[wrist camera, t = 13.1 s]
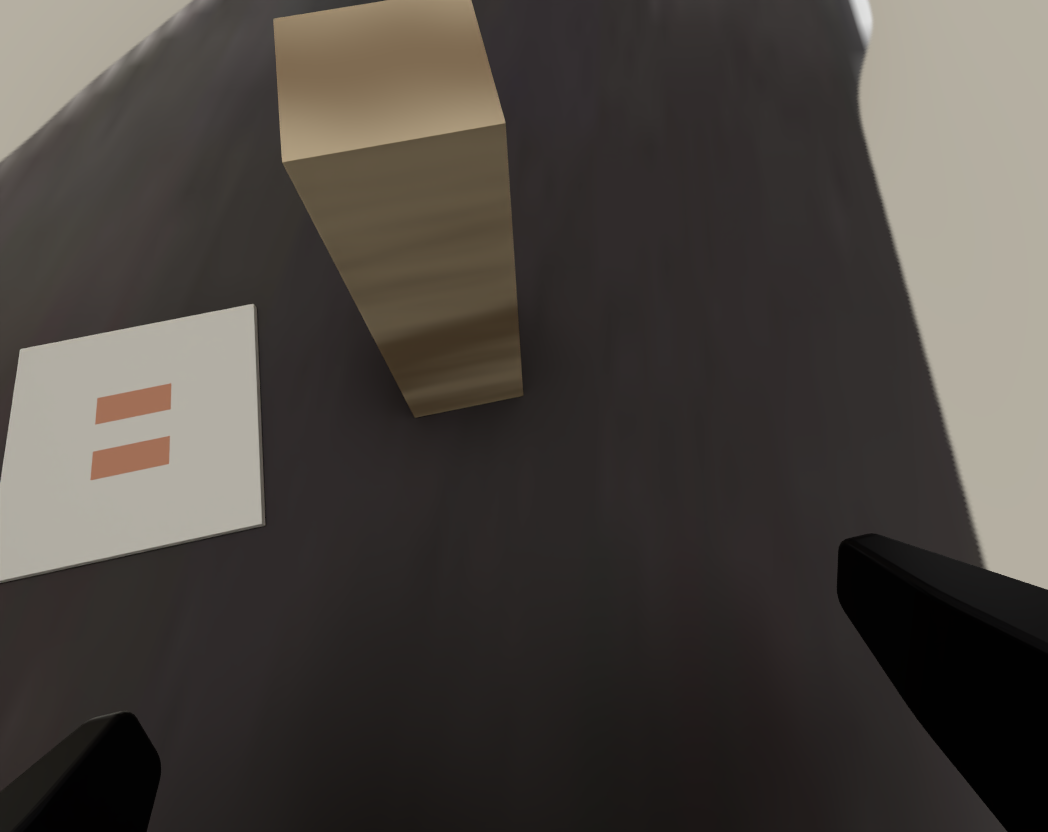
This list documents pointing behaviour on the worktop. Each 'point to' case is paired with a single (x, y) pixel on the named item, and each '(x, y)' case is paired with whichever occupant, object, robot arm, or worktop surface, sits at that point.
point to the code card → (132, 443)
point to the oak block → (409, 188)
